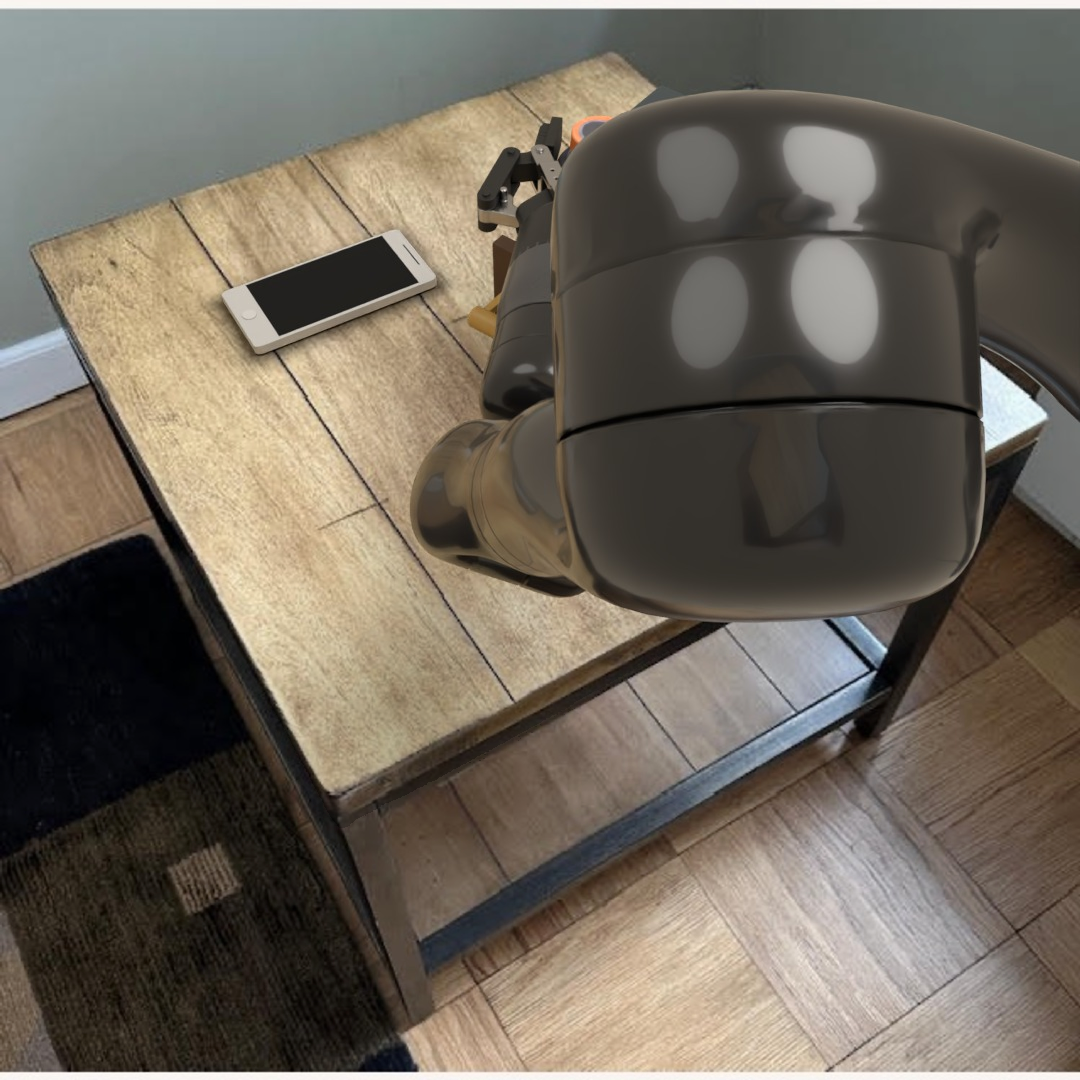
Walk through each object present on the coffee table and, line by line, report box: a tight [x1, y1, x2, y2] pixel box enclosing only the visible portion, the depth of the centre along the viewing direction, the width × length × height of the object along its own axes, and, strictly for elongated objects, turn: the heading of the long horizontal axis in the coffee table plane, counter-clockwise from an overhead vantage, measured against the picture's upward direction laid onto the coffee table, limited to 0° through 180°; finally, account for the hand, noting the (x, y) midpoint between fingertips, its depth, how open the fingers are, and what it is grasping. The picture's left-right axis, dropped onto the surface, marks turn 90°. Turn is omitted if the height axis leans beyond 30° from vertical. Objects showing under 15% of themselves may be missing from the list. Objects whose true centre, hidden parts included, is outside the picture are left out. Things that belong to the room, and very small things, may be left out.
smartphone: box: [221, 229, 438, 355], centre depth 86 cm, size 7×16×1 cm, turn 121°
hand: (603, 134), depth 75 cm, fingers closed on pill bottle, 6 cm apart
